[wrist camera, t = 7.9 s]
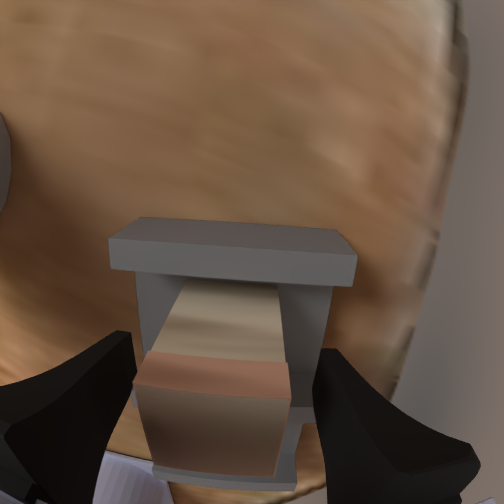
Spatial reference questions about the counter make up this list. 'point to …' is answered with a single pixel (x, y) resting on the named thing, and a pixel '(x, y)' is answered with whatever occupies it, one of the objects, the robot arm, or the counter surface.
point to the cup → (4, 162)
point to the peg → (217, 381)
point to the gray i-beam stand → (250, 272)
